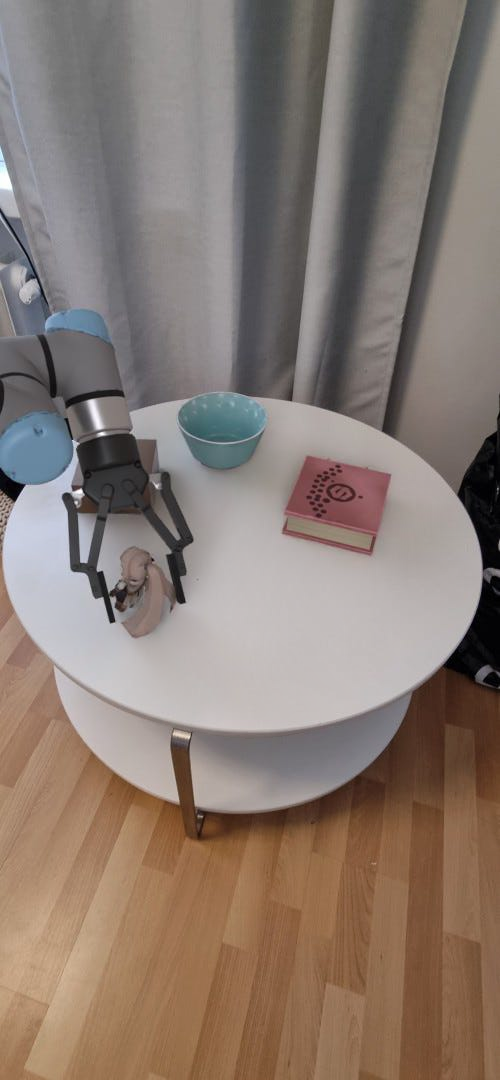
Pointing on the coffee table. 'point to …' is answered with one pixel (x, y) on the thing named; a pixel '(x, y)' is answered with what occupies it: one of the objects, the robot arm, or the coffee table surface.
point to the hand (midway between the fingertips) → (147, 611)
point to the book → (337, 505)
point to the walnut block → (149, 463)
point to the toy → (132, 586)
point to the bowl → (222, 427)
